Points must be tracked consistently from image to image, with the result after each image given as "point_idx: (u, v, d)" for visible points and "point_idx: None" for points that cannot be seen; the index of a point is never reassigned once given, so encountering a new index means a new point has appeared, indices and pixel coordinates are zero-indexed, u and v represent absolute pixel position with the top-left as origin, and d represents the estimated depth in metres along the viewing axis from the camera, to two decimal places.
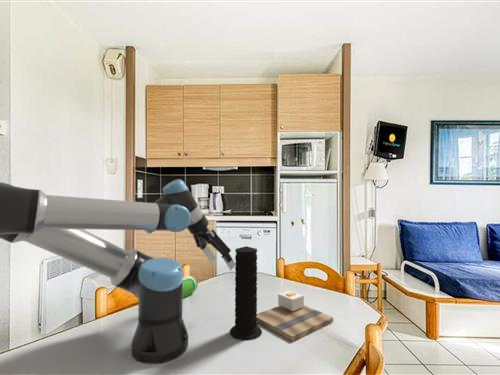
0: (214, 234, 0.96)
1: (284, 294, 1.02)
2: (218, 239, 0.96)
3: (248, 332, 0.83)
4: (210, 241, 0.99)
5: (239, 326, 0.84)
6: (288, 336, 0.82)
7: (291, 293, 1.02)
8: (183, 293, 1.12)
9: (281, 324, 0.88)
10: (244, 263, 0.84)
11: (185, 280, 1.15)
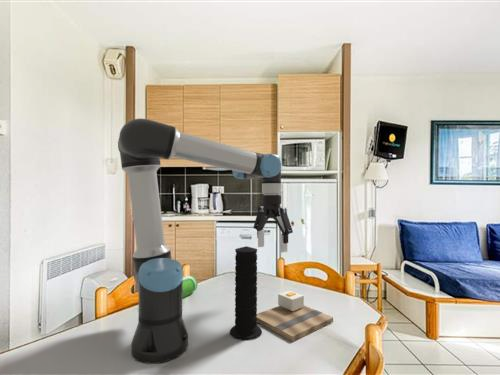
0: (285, 211, 1.05)
1: (284, 294, 1.02)
2: (286, 217, 1.04)
3: (248, 332, 0.83)
4: (277, 217, 1.06)
5: (239, 326, 0.84)
6: (288, 336, 0.82)
7: (291, 293, 1.02)
8: (183, 293, 1.12)
9: (281, 324, 0.88)
10: (244, 263, 0.84)
11: (185, 280, 1.16)
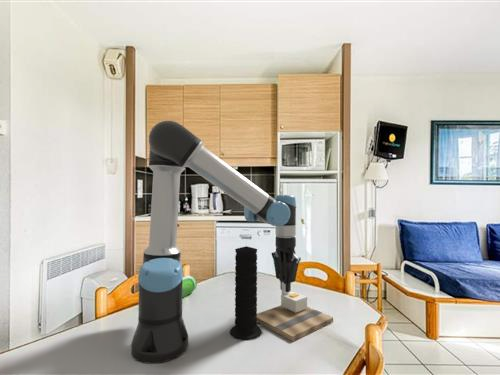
0: (298, 262, 1.00)
1: (287, 295, 1.01)
2: (296, 267, 1.00)
3: (248, 332, 0.83)
4: (287, 264, 1.02)
5: (239, 326, 0.84)
6: (288, 336, 0.82)
7: (294, 294, 1.01)
8: (183, 293, 1.13)
9: (281, 324, 0.88)
10: (244, 263, 0.84)
11: (185, 280, 1.16)
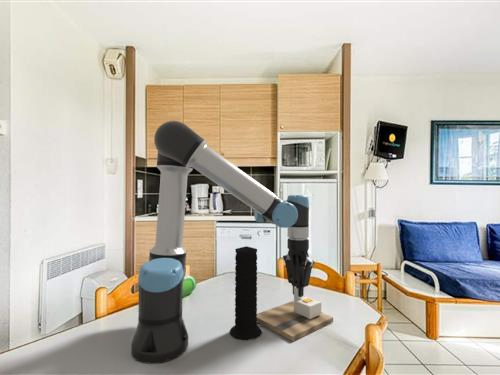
0: (311, 265, 0.95)
1: (300, 300, 0.96)
2: (309, 271, 0.96)
3: (248, 332, 0.83)
4: (300, 267, 0.97)
5: (239, 326, 0.84)
6: (288, 336, 0.82)
7: (308, 299, 0.96)
8: (183, 292, 1.13)
9: (281, 324, 0.88)
10: (244, 263, 0.84)
11: (185, 280, 1.16)
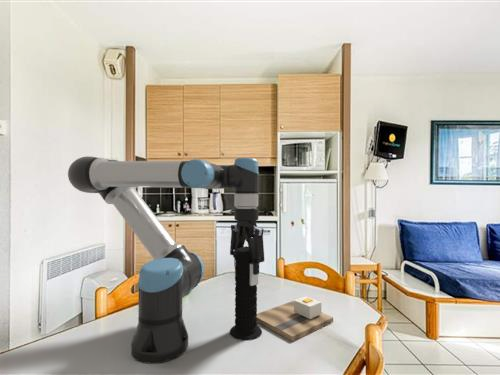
0: (261, 234, 0.82)
1: (300, 300, 0.96)
2: (261, 241, 0.82)
3: (248, 332, 0.83)
4: (250, 239, 0.84)
5: (239, 326, 0.84)
6: (288, 336, 0.82)
7: (308, 299, 0.96)
8: None
9: (281, 324, 0.88)
10: (244, 263, 0.84)
11: None
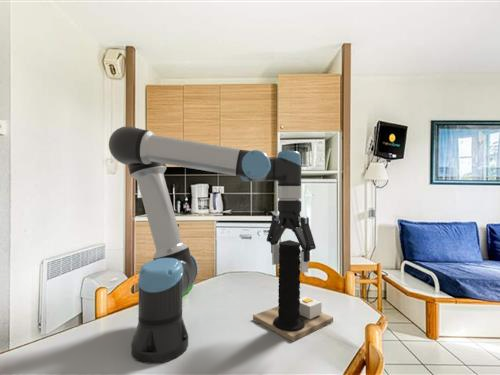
0: (307, 222, 0.84)
1: (300, 300, 0.96)
2: (308, 229, 0.84)
3: (293, 323, 0.85)
4: (296, 229, 0.86)
5: (283, 317, 0.86)
6: (288, 336, 0.82)
7: (308, 299, 0.96)
8: (184, 292, 1.14)
9: None
10: (289, 256, 0.86)
11: None
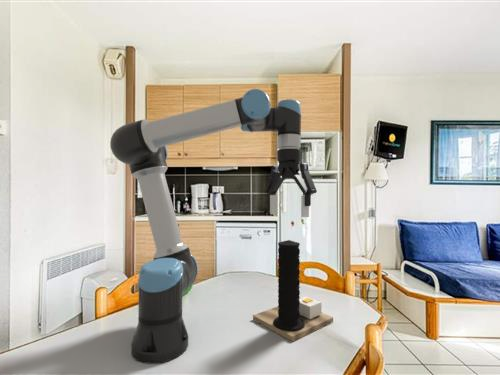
0: (306, 167, 0.85)
1: (300, 300, 0.96)
2: (308, 174, 0.84)
3: (293, 323, 0.85)
4: (296, 175, 0.86)
5: (283, 318, 0.86)
6: (288, 336, 0.82)
7: (308, 299, 0.96)
8: (184, 292, 1.14)
9: None
10: (288, 256, 0.86)
11: None
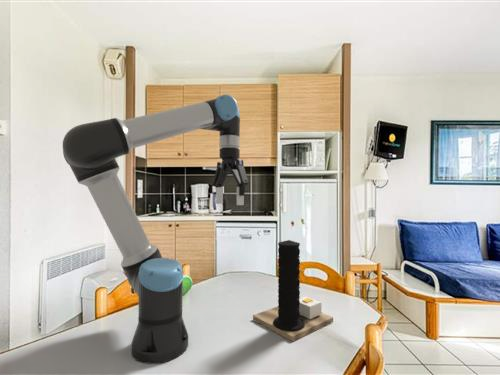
0: (241, 163, 1.00)
1: (300, 300, 0.96)
2: (242, 169, 1.00)
3: (293, 323, 0.85)
4: (233, 170, 1.02)
5: (283, 318, 0.86)
6: (288, 336, 0.82)
7: (308, 299, 0.96)
8: (184, 291, 1.14)
9: None
10: (288, 256, 0.86)
11: (183, 279, 1.17)
